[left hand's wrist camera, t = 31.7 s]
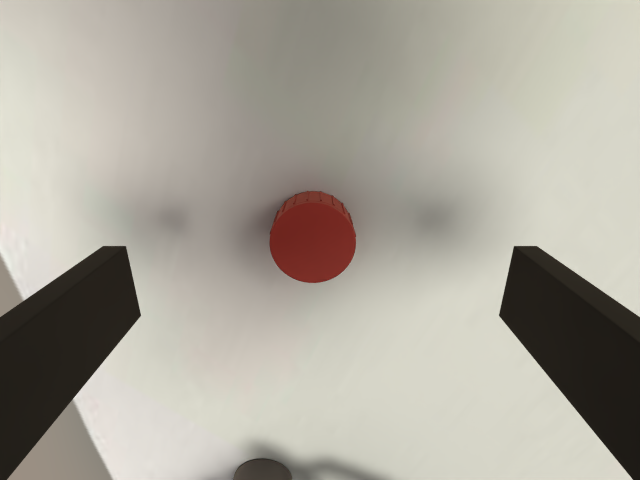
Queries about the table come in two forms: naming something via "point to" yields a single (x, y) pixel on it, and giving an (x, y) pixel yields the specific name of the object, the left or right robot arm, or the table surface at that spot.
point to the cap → (312, 237)
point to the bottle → (262, 471)
